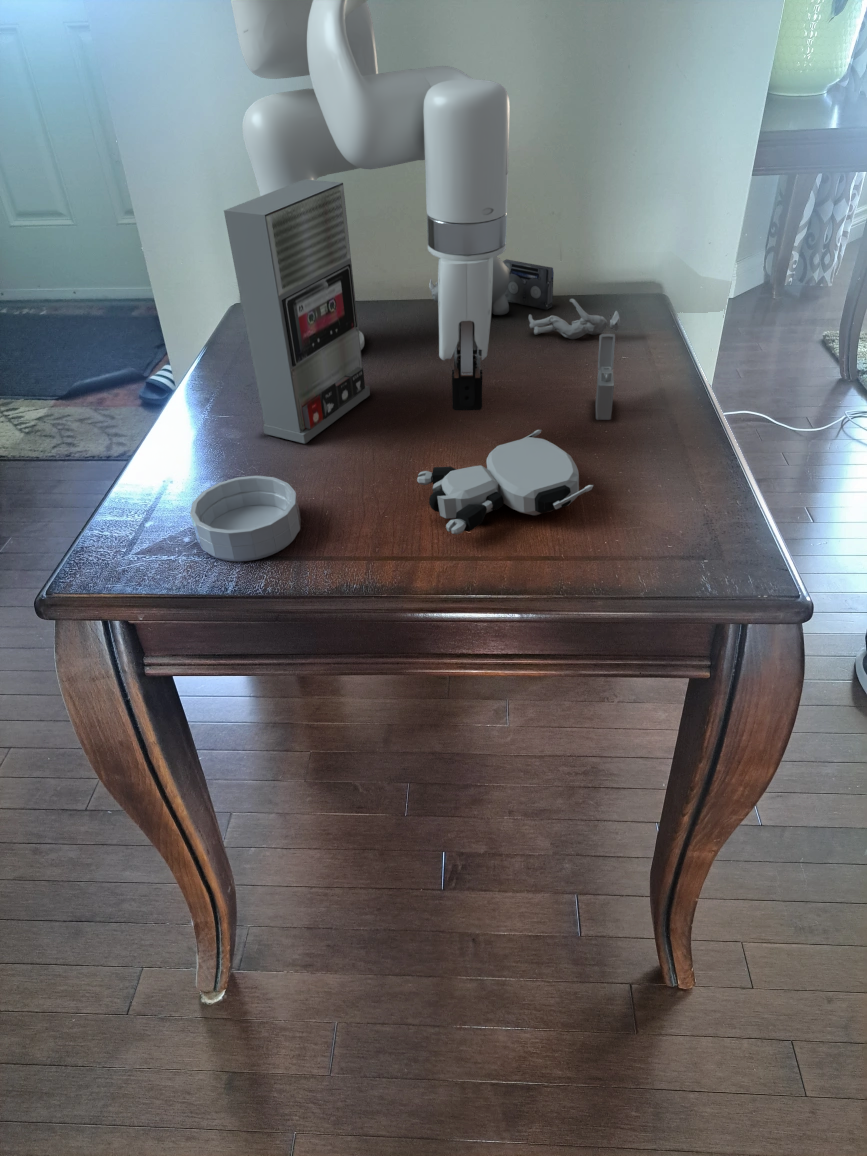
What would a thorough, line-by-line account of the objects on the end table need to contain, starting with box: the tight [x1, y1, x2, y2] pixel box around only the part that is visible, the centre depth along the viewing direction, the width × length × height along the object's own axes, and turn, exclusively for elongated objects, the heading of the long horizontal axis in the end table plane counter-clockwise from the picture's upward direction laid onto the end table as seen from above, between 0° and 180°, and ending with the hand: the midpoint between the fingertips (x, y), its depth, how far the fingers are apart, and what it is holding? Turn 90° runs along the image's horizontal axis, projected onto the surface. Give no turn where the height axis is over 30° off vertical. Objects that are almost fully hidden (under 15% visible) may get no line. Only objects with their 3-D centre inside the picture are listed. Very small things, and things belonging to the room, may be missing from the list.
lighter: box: [594, 333, 616, 421], centre depth 97 cm, size 7×2×8 cm, turn 172°
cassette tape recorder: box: [223, 179, 371, 445], centre depth 93 cm, size 14×6×25 cm, turn 151°
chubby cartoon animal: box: [428, 256, 510, 316], centre depth 123 cm, size 7×12×8 cm, turn 97°
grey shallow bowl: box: [189, 475, 302, 562], centre depth 81 cm, size 10×10×4 cm
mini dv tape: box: [502, 258, 555, 311], centre depth 126 cm, size 8×2×6 cm, turn 52°
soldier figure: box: [527, 298, 621, 340], centre depth 115 cm, size 8×5×12 cm
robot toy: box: [416, 429, 594, 535], centre depth 82 cm, size 12×4×15 cm
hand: (467, 406), depth 90 cm, fingers closed
